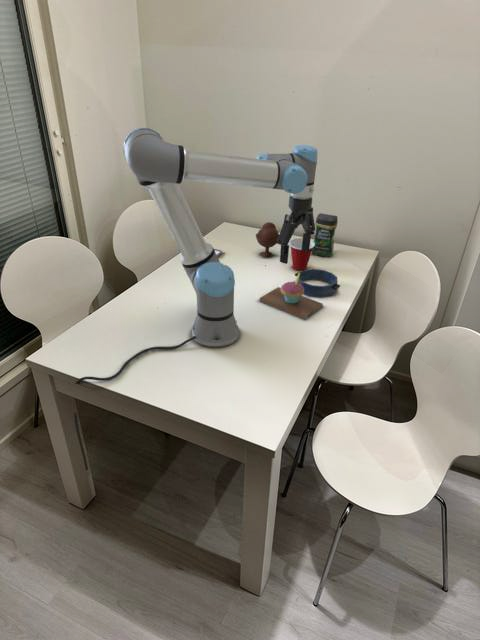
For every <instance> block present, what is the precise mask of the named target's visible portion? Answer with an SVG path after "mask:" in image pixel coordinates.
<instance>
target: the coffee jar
mask: <svg viewBox="0 0 480 640" xmlns="http://www.w3.org/2000/svg"><path fill="white" fill-rule="evenodd" d="M314 223H315V233H314V239H313V242H315V246H314V247H313V249H312V252H311V254H313V255H314V256H315V255H316V256H319V257H324V258H329V257H331V256H332V255H334V249H335V248H334V247H335V246H334V245H335V232H336V229H337V227H338V216H337V215H335V214H334V215H333V214H326V213H321V212H320V213H318V215H317V216H316V219H315V221H314Z"/></svg>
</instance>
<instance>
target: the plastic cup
mask: <svg viewBox="0 0 480 640" xmlns="http://www.w3.org/2000/svg"><path fill="white" fill-rule="evenodd" d="M302 241H303V237H294V238H291V239H290V241H289V243H288V245H289V248H290V252H291V253H290V254H291V262H292V269H293V270H294V271H298V272H299V271H300V272H301V271H303V270H307V268H308V264H309V262H310V258H311V255H312V249H313V247H314V246H315V242H314V240H312V239H310V247H309V252H308V253H307V252H304V251H301V250H302Z"/></svg>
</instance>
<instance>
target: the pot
mask: <svg viewBox="0 0 480 640" xmlns="http://www.w3.org/2000/svg"><path fill="white" fill-rule="evenodd" d="M299 272H300V276H299V279H298V283H299V284H301V285H302V286H303V287H304V294H303V295H305V296H308V297H314V298H315V297H316V298H325V297H331V296H332V295H334V294H335V293H337V290H339V288H341V284H339V283H338V281H339V279H338V276H337V275H336V274H334V273H333V272H331V271H328V270H325V269H316V268H310V269H306V270H303V271H298V272H295V274H294V277H297V276H298V273H299ZM306 281H321V282H324V283H327V284H326V285H315V284H310V283H307V282H306Z"/></svg>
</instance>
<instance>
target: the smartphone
mask: <svg viewBox="0 0 480 640" xmlns="http://www.w3.org/2000/svg"><path fill="white" fill-rule="evenodd" d="M214 250H215V252H216V255H217V257H218V258H219V256H221V255H222V254H223V250H221V249H216V248H214Z"/></svg>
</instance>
